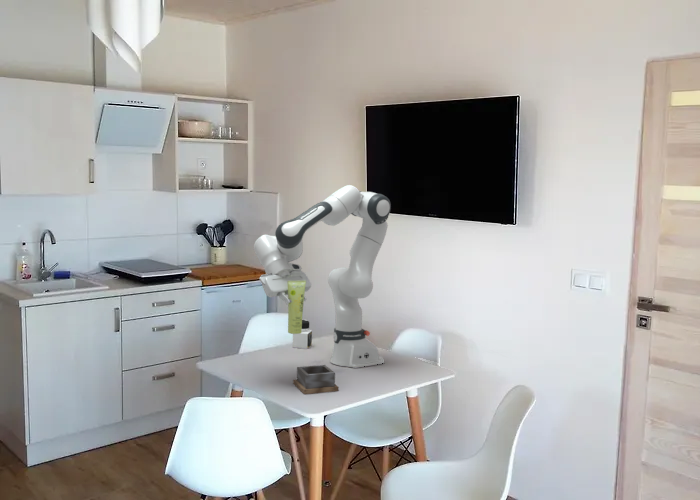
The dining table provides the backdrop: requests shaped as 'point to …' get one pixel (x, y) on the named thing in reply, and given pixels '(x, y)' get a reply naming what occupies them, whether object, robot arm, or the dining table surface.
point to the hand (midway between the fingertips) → (296, 302)
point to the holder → (315, 379)
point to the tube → (295, 305)
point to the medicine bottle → (303, 337)
